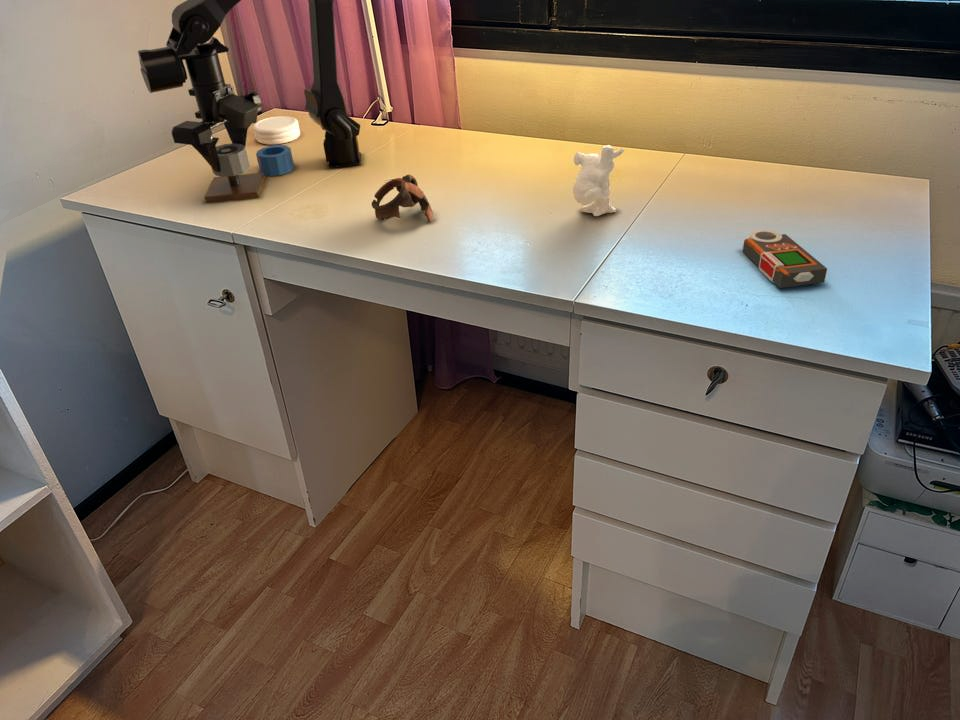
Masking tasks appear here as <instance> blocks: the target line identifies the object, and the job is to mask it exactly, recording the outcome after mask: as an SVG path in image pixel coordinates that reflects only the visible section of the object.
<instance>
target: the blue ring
mask: <svg viewBox="0 0 960 720" xmlns="http://www.w3.org/2000/svg"><path fill="white" fill-rule="evenodd" d="M255 157H256V160H257V164H258V169H259V173H263V172H264V175H265V177H267V176H268V177H278V176H283V175H287V174H289V173H291V172H292V171H294V169H295V164H294V157H293V154H292V148H291V147H290V146H288V145H284V144H275V145H268V146H265V147H261V148H260V149H258V150H257V151H256V153H255Z"/></svg>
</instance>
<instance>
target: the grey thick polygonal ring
mask: <svg viewBox="0 0 960 720" xmlns="http://www.w3.org/2000/svg"><path fill="white" fill-rule="evenodd" d="M223 149H231V150H232V153H228V154H221V150H223ZM216 150H217V154H218V159H219V163H220V170H221V171H220V172H216V171H214V169H213V168H212V167H211V166H210V167H211V170H212V174H214V175H215V177H219V176H222V177H228V176H235V175H241V174H245V173H246V172H248V171H249V170H250V167H251V165H250V161H249V156H248V153H247V149H246V147H245V146H243V145H242V144H236V143H232V142H230V143H223V144H219V145H216Z"/></svg>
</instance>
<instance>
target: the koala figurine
mask: <svg viewBox="0 0 960 720" xmlns="http://www.w3.org/2000/svg"><path fill="white" fill-rule="evenodd" d="M624 152H625V149H624V148H619V149H617V150H615V147H613V145H610V144H605V145H603V146H601V152H600V153H599V154H598V153H586V154H584V153H583V152H582V151H581V152H580V151H578V152H576V153H575V154H574V155H573V163H574V165H575V166H577V167H580V166H581V168H580V170H578V173H577V174H576V177H575V182H574V183H573V187H572V193H573V198H574V200H575V203H577V204H578V205H581V206H582V207H581V209H580V210H581V212H582V213H588V214H592V215H593V216H594V217H599V216H602V215H604V214H610V213H616V212H617V209H616V208H615V207H614V206H613V205H611V203H610V198H611V196H610V195H611V190H610V185H611V184H610V183H611V182H610V181H611V179H610V176H611V173H612V171H613V170H614V168H615V160H614V159H616V158H618V157H620V156H621V155H622V154H623V153H624Z"/></svg>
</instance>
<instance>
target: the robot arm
mask: <svg viewBox="0 0 960 720" xmlns="http://www.w3.org/2000/svg"><path fill="white" fill-rule="evenodd" d="M241 1H242V0H185V1H183V2H181V3H179V4H178V5H177V6H176V7H174V9H173V10H172V13H171V24H172V28H171V30H170V33H169V36H168V38H167V41H166V44H165V47H158V48H153V49H139V50H137V54H138V57H139V58H138V59H139V64H140V68H139V69H140V73H141V75H142V78H143V81H144V84H145V87H146V89H147V90H148V92H149V93H150V94H152V93H158V92H163V91H167V90H172V89H178V88H183V87H184V84H185V83H187V80H188V76H189V80H190V84H191V88H189V89H187V91H188V94H189V96H190V97H194V98H195V102H196V105H197V109H198V111H195V112H194V115H195V119H199V120H201V121H192V120H185V121H183V122H180V123H179V124H177V125H174V126H173V127H172V129H171V131H170V132H171V136H172V139H173V142H174V144H179V145H189V146H192V147H193V148H194V150H195V151H197V152H198V153H199V154H200V155H201V156H202V158H203V159H204V160H205V161H206V163H207V164H208V165H209V167H212V168H213V169H214V171H216V172H220V171H221V170H220V163H219V159H218V154H217V150H216V146H217V143H218V141H219V137H216V136H215V137H214V136H213V132H212V130H213V129H215V128H218V127H219V126H221V125H224V128H225V130H226V132H227V135H228V137H229V140H230V141H231V142H230V143H236V144H242V145H243V146H245V148H246V146H247V137H248V131H249V129H250V126H251V125H252V124H255V123H257V122H258V116H260V115H262V114H263V107H262V100H261V98H260V94H259V93H258V92H255V91H254V90H251V91H249V92H247V93H245V95H244V94H241V95H238V94H236V93H235V92H234V88H233V87H232V85H231V83H230V84H229V83H226V81H225V77H224V74H223V70H222V65H221V62H220V58H219V54H223V53H224V54H225V53H228V52H229V51H230V49H229V47H227V46H226V45H225V44H223V43H221V41H220V40H219V39H218V38H216V37H215V36H214V35H215V34H216V33H217V31H219V28H221V26H222V24H223V22H224V20H225V19H226V17H227V15H228V14H229V12H230V11H231V10H232V9H233V8H234V7H235V6H236V5H238V4H239V3H240V2H241ZM307 2H308V14H309V15H308V16H309V29H310V30H309V31H310V42H311V43H310V44H311V55H312V57H311V58H312V74H313V82H312V85H311V87H310V89H307V88H304V89H303V90H304V91H303V92H304V97H305V107H304V110H305V111H307V112H308V115H309V118H310V119H311V120H312V121H313V122H314V123H315V124H317V125H318V126H320V128H321V129H322V130H323V131H325V132H324V139H323V143H322V144H323V149H324V156H325V161H326V163H328V168H329V169H333V168H345V167H354V166H355V167H356V166H360V165H362V164H361V162H362V153H361V152H360V146H359V140H358V136H360V132H361V131H360V130H361V124H360V123H358V121H356V120H354V119H353V118H351V117H350V116H349V115H348V111H347V107H346V106H347V105H346V102H345V98H344V96H343V92H342V90H341V88H340V85H339V81H338V66H337V45H336V27H335V7H334V5H335V3H334V2H335V0H307ZM184 61H185V64H184ZM185 66H186V67H185ZM186 69H187V70H186ZM212 168H211V169H212Z"/></svg>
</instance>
